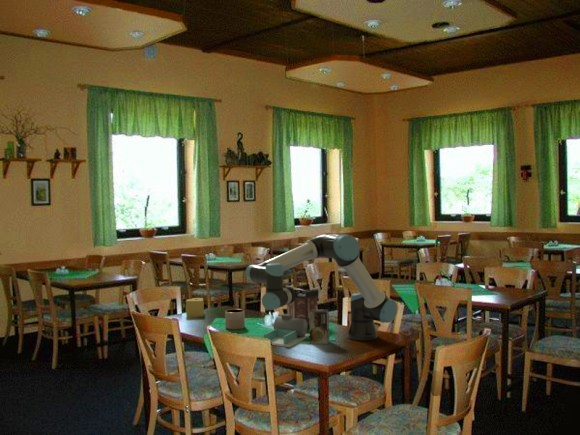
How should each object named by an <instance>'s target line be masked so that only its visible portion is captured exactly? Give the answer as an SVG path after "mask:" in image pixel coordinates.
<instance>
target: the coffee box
mask: <svg viewBox="0 0 580 435" xmlns="http://www.w3.org/2000/svg"><path fill="white" fill-rule="evenodd" d="M309 322H310V327H309V334H310V337H309V344H314V345H319V344H320V345H328V344H329V343H330V314H329V309H322V308H321V309H318V308H317V309H311V311H310V312H309Z"/></svg>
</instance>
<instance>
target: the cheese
mask: <svg viewBox="0 0 580 435" xmlns="http://www.w3.org/2000/svg"><path fill="white" fill-rule="evenodd" d="M204 313H205V304H204V298H203V297H192V298H188V299H186V301H185V314H186V318H197V317H199V318H201V317H202V318H203V317H204Z"/></svg>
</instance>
